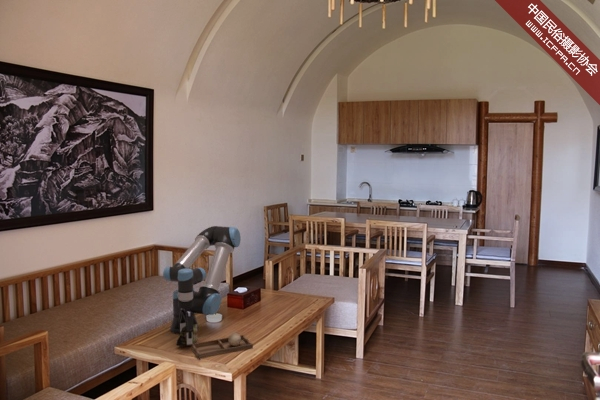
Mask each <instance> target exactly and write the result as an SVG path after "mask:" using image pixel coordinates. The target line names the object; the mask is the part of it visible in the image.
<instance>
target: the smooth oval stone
mask: <svg viewBox="0 0 600 400" xmlns="http://www.w3.org/2000/svg"><path fill="white" fill-rule="evenodd" d="M240 335H241V334H239V333H237V332H232V333H230V334H229V336H228V337H227V338H228V342H229V344H230V345H232V346H237V345H239V344H240V342H241V336H240Z"/></svg>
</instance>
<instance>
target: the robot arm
mask: <svg viewBox="0 0 600 400" xmlns="http://www.w3.org/2000/svg"><path fill="white" fill-rule="evenodd" d="M240 244H241V233H240V230H239V228H237V227H234V226H220V225H219V226H218V225H213V226H209V227H207V228H204V229H203V230H202V231H201V232H199V234H197V235H196V237H195V238H194V241H193V243H192V244H191V245H190V246H189V247H188V248H187V250H185V251H184V253H183V254H182V256H180V257H179V258H178V260H177V261H176V262H175V263H174V265H172V266H166V267H165V268H164V270H163V273H162V274H163V279H164V280H165V281H168V282H175V283H176V282H177V289H176V290H174V291H173V293H172V312H173V317H172V320H171V324H170V332H171V333H173V334H175V335H176V334H177V335H180V332H181V331H182V328H183V327H185V326H186V327H187V331H186V333H187V345H189V344H193V342H192V332H194V330H193V325H194V324H197V331H198V330H199V323H198V320H197V317H196V315H195V314H200V315H204V316H210V315H211V316H213V315H215V314H216V313H218V311H219V309H220V307H221V304H222V296H221V294H220V291H219V290H220V286H221V282H222V279H223V276H224V273H225V269H226V267H227V264H228V261H229V258H230V255H231V253H233V252H234V250H235V248H238V247H240ZM211 246H213V247H214V248H215V251H214V253H213V257H212V260H211V262H210V265H209V268H208V271H207V272H206V270H205V269H204V268H202V267H195V268H191V267H192V265H193V264H194V263H195V262H196V261H197V260H198V258H199V257H200V256H201V255H202V253H203V252H204V251H205V250H207V249H209V248H210V247H211ZM203 281H204V282H203ZM202 282H203V285H201V286H199V289H198V291H195V288H194V286H195V285H197V284H200V283H202ZM190 329H191V330H190Z"/></svg>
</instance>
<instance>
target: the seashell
mask: <svg viewBox="0 0 600 400" xmlns="http://www.w3.org/2000/svg"><path fill="white" fill-rule="evenodd" d="M190 330H191V329H190ZM193 330H194V332H192V342H193V344H195V343H197V340H198V335H197V333H198V330H197V324H194V325H193ZM186 331H187V327H186V326H185V327H183V328H182V331H181V332H180V334H179V337H178V338H177V340H176V346H177V347H192V344H189V345H187V333H186Z"/></svg>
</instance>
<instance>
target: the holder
mask: <svg viewBox="0 0 600 400" xmlns="http://www.w3.org/2000/svg"><path fill="white" fill-rule="evenodd" d="M239 335H240V336H241V342H240V344H239V345H237V346H232V345H230V344H229V342H228V338H229V337H224V338H218V339H212V340H207V341H200V342H196V343H194V344H192V345H191V351H192V352H193V353H194V355H195V357H196V358H197V359H198V360H199V361H200V360H201V359H204V358H210V357H215V356H220V355H225V354H230V353H235V352H240V351H245V350H251V349H254V348H253V347H254V344H253V343H252V342H251V341H250V340H249V338H247V337H246V336H245V335H244V334H239Z"/></svg>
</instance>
